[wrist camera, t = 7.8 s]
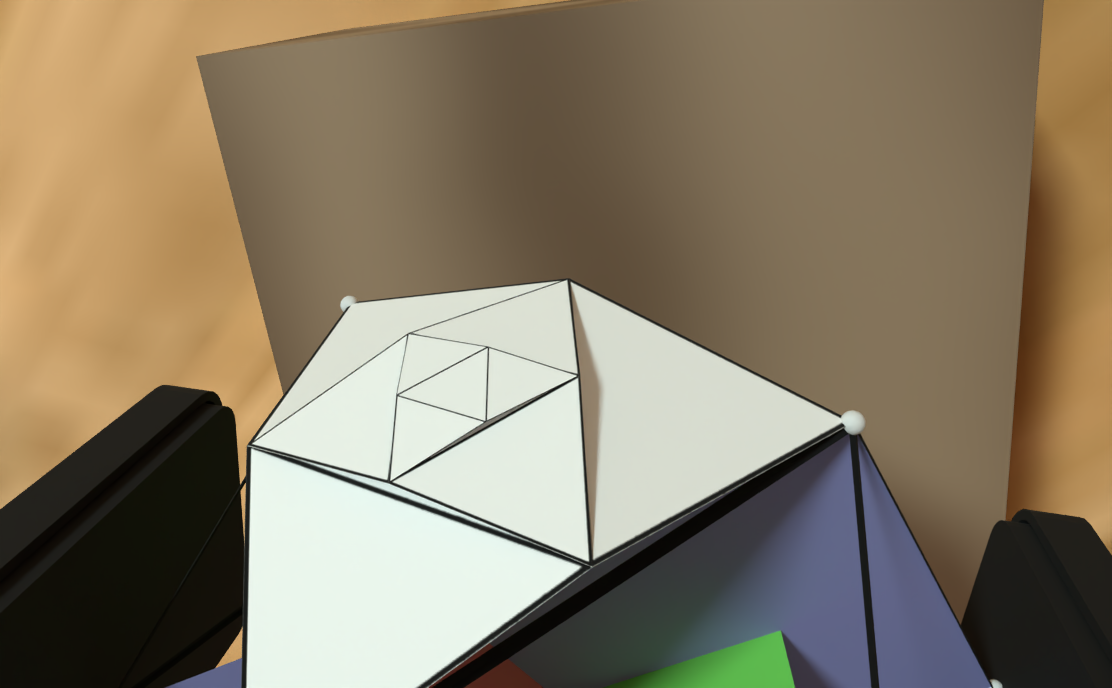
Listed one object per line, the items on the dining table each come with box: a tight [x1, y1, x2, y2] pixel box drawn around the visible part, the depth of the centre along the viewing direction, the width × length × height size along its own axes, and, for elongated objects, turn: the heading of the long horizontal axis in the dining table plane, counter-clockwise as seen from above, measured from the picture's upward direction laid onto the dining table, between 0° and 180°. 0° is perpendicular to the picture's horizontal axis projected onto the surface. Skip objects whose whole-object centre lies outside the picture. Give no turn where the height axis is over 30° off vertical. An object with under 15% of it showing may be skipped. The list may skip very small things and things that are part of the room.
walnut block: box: [196, 0, 1044, 624], centre depth 16 cm, size 11×11×6 cm
